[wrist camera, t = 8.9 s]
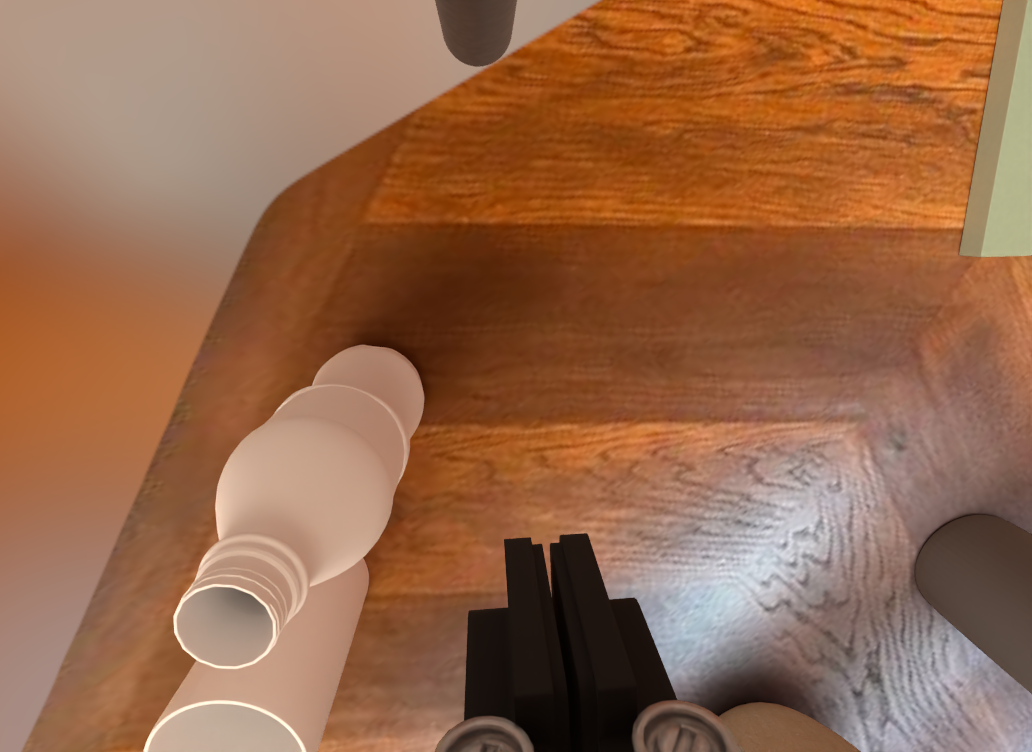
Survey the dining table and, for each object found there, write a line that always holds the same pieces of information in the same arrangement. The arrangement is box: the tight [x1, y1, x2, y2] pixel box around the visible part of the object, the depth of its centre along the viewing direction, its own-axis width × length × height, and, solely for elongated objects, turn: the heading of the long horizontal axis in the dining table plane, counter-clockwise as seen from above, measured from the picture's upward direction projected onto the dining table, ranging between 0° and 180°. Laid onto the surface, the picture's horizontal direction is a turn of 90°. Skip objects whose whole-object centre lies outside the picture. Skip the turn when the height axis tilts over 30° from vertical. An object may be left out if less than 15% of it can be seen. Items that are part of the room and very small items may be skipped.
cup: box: [144, 558, 369, 752], centre depth 37 cm, size 8×8×16 cm
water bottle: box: [174, 345, 425, 669], centre depth 29 cm, size 7×7×25 cm
